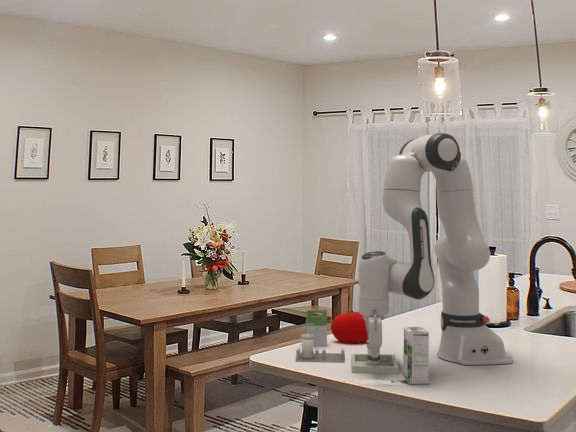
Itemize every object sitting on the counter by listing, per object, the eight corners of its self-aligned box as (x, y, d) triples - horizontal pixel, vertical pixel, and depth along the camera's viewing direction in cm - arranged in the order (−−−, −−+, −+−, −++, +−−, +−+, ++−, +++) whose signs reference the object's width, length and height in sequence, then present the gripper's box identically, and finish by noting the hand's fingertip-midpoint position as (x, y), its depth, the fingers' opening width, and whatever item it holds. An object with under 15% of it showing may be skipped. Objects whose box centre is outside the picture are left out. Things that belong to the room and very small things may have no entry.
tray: (394, 364, 173) (394, 354, 173) (398, 377, 161) (398, 367, 160) (351, 363, 175) (351, 353, 175) (351, 376, 162) (351, 366, 162)
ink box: (326, 346, 194) (325, 307, 194) (327, 350, 190) (327, 310, 190) (305, 347, 194) (305, 308, 194) (306, 350, 190) (306, 310, 190)
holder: (344, 357, 181) (344, 331, 181) (344, 366, 171) (344, 339, 171) (297, 356, 183) (297, 331, 183) (295, 365, 173) (294, 338, 173)
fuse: (380, 365, 169) (380, 342, 169) (380, 369, 166) (380, 345, 165) (366, 365, 170) (366, 342, 170) (367, 369, 166) (367, 345, 166)
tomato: (360, 350, 189) (360, 316, 189) (325, 344, 197) (325, 311, 197) (378, 343, 199) (377, 310, 199) (343, 337, 207) (343, 306, 207)
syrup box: (402, 378, 160) (402, 326, 160) (423, 377, 161) (423, 326, 160) (408, 384, 155) (408, 331, 154) (429, 384, 155) (429, 331, 154)
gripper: (387, 314, 156) (387, 364, 157) (382, 301, 177) (382, 345, 177) (364, 314, 157) (364, 364, 157) (361, 300, 177) (362, 345, 178)
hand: (373, 354), depth 168 cm, fingers open, 5 cm apart
